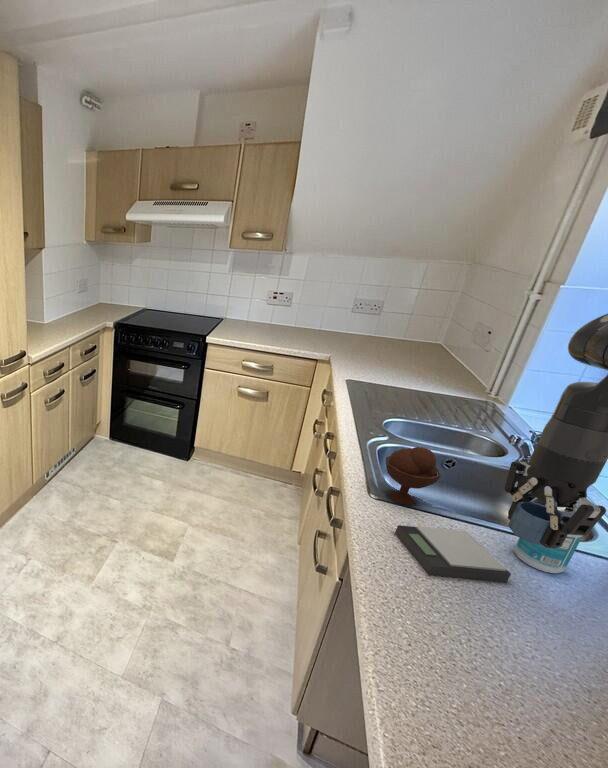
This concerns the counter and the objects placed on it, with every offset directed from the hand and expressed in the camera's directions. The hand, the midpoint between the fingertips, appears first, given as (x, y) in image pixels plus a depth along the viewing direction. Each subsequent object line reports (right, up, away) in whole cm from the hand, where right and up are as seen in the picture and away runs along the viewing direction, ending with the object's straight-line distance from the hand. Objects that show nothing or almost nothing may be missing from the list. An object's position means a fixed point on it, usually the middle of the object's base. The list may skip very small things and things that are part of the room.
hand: (530, 532), depth 71 cm
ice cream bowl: (+2, -3, +33) cm, 33 cm away
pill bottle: (+16, -11, +14) cm, 23 cm away
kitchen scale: (-2, -10, +14) cm, 18 cm away
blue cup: (0, -1, 0) cm, 1 cm away
